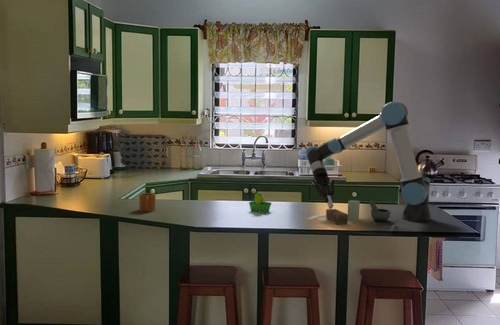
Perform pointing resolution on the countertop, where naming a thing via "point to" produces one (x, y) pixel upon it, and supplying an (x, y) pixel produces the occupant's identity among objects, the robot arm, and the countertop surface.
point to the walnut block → (336, 216)
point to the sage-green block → (353, 210)
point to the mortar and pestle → (379, 213)
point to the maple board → (323, 218)
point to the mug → (147, 202)
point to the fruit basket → (259, 204)
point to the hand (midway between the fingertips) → (331, 207)
